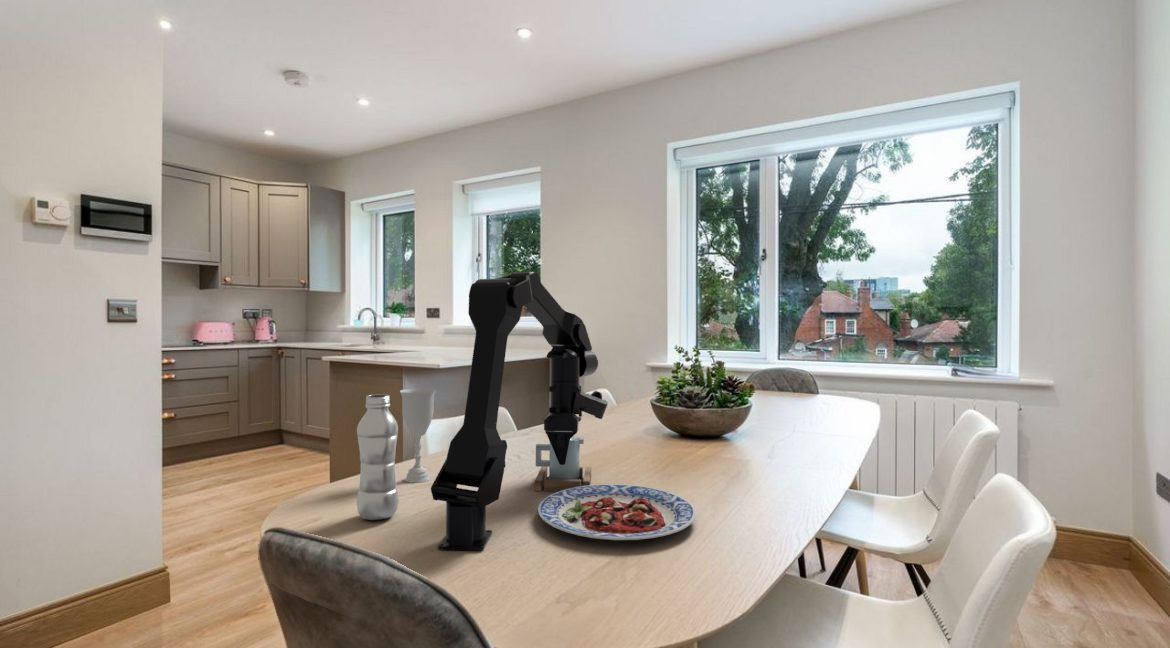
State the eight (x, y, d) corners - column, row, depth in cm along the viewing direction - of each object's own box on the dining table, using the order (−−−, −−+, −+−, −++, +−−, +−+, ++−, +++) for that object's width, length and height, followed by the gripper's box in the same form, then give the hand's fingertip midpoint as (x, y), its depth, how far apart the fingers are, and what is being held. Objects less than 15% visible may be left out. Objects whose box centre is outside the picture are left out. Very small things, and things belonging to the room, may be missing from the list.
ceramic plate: (701, 503, 101) (701, 486, 101) (688, 562, 76) (688, 541, 76) (565, 490, 108) (565, 475, 108) (513, 541, 83) (513, 521, 83)
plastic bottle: (371, 528, 87) (372, 400, 87) (348, 518, 91) (348, 396, 91) (407, 516, 92) (407, 395, 92) (383, 508, 97) (383, 392, 96)
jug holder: (589, 492, 106) (589, 481, 106) (534, 490, 107) (534, 480, 107) (591, 476, 117) (591, 467, 117) (541, 475, 117) (541, 466, 117)
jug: (582, 488, 108) (582, 442, 108) (533, 487, 109) (534, 441, 109) (584, 479, 114) (584, 435, 114) (537, 478, 115) (538, 435, 115)
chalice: (392, 482, 112) (392, 392, 112) (412, 473, 118) (412, 388, 118) (424, 485, 110) (424, 393, 109) (442, 476, 116) (443, 389, 116)
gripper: (605, 386, 102) (604, 472, 102) (605, 376, 120) (605, 448, 120) (543, 385, 102) (543, 471, 102) (554, 375, 121) (553, 447, 121)
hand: (564, 458), depth 111 cm, fingers open, 9 cm apart
